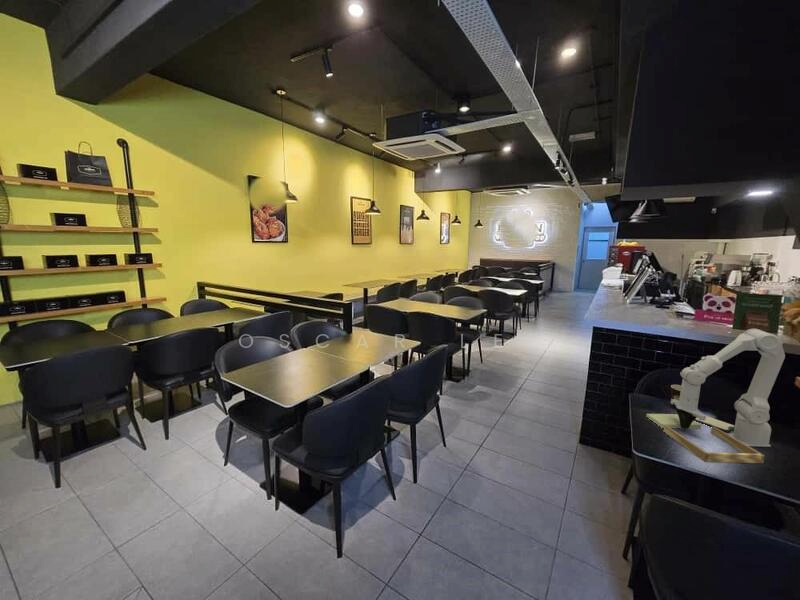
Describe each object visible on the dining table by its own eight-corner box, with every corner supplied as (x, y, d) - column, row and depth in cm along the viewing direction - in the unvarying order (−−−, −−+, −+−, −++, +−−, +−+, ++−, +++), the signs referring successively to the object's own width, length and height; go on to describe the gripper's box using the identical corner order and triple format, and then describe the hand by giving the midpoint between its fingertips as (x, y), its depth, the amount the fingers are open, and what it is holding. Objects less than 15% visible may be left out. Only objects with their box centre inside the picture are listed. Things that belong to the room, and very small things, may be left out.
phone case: (679, 417, 147) (727, 434, 132) (680, 414, 147) (727, 430, 132) (689, 413, 151) (736, 429, 136) (690, 410, 150) (737, 426, 136)
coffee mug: (697, 413, 149) (700, 392, 148) (678, 412, 149) (681, 392, 148) (676, 401, 161) (679, 382, 159) (658, 401, 161) (661, 382, 160)
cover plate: (682, 419, 145) (683, 414, 144) (700, 430, 136) (701, 425, 135) (646, 419, 145) (646, 413, 144) (661, 430, 136) (662, 424, 135)
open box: (713, 433, 133) (714, 426, 132) (763, 463, 114) (764, 455, 113) (663, 432, 133) (664, 425, 133) (705, 461, 114) (706, 453, 114)
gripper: (665, 389, 140) (661, 418, 142) (694, 404, 125) (689, 437, 127) (682, 389, 140) (677, 419, 142) (713, 405, 125) (708, 438, 127)
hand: (684, 427), depth 135 cm, fingers closed
